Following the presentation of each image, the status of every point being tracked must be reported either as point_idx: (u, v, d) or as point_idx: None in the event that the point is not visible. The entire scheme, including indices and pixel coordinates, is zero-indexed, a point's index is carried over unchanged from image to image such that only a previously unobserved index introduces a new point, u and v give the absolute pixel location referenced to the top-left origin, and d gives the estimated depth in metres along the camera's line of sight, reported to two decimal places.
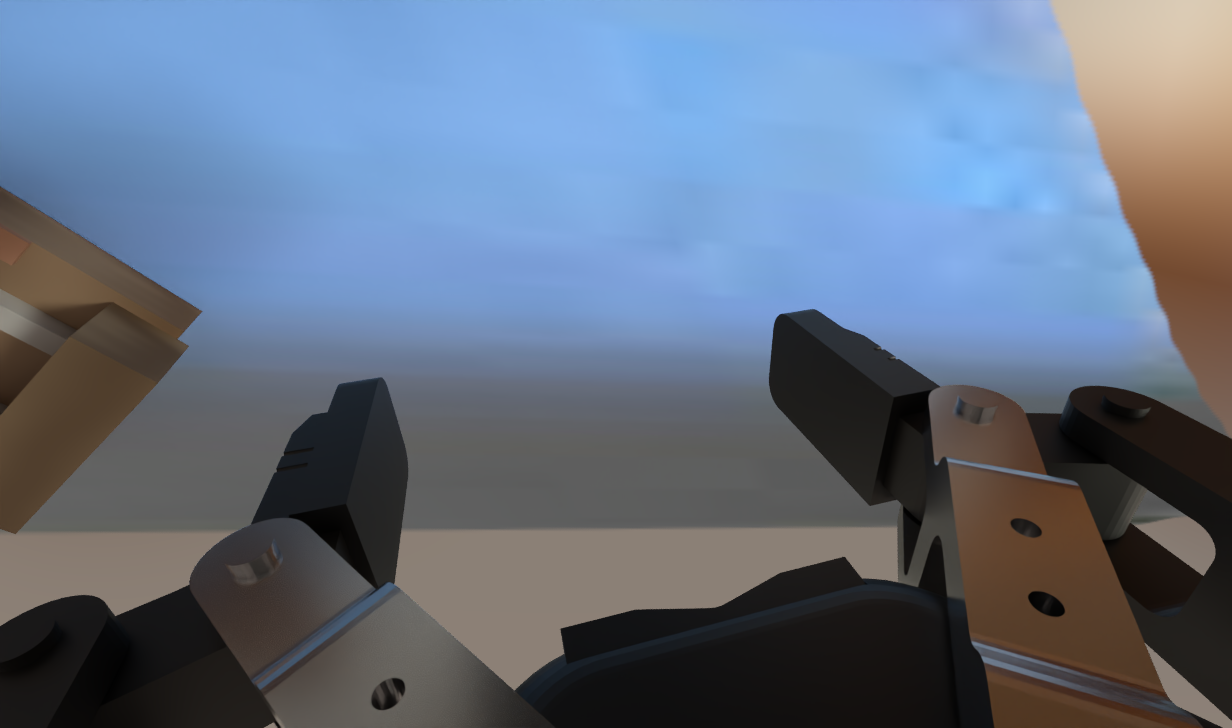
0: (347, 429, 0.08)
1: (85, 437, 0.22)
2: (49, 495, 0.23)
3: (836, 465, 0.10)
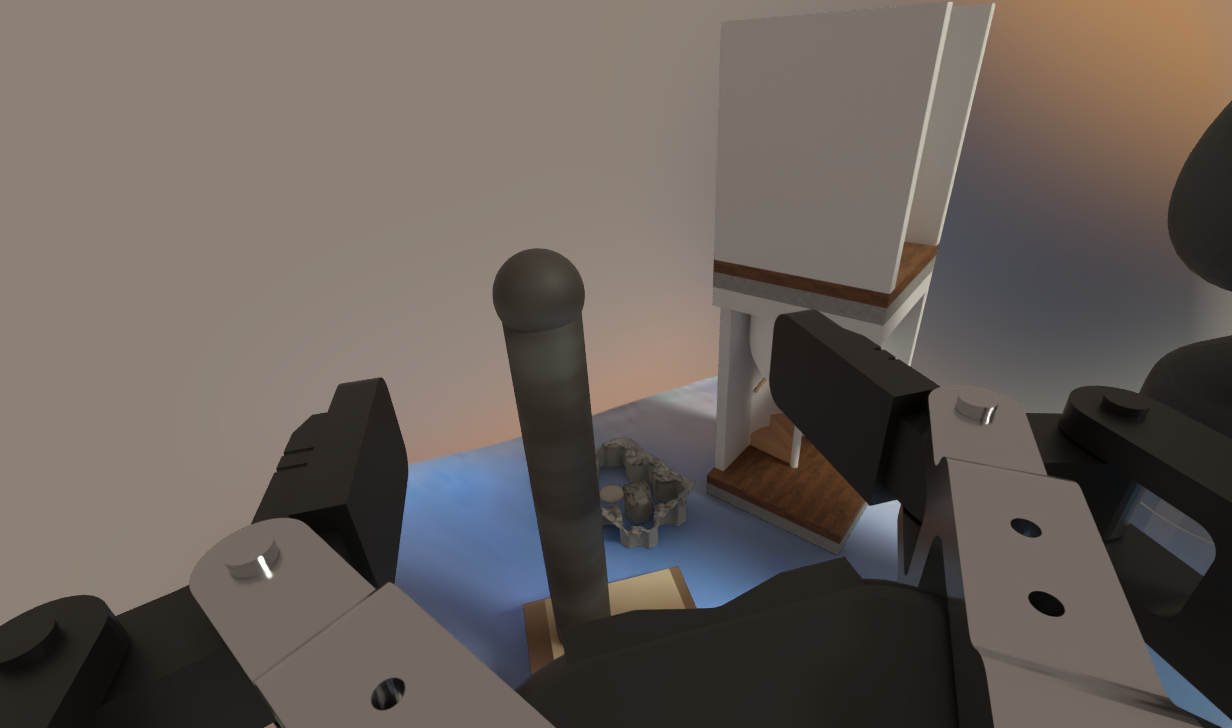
0: (347, 429, 0.09)
1: None
2: None
3: (836, 464, 0.10)
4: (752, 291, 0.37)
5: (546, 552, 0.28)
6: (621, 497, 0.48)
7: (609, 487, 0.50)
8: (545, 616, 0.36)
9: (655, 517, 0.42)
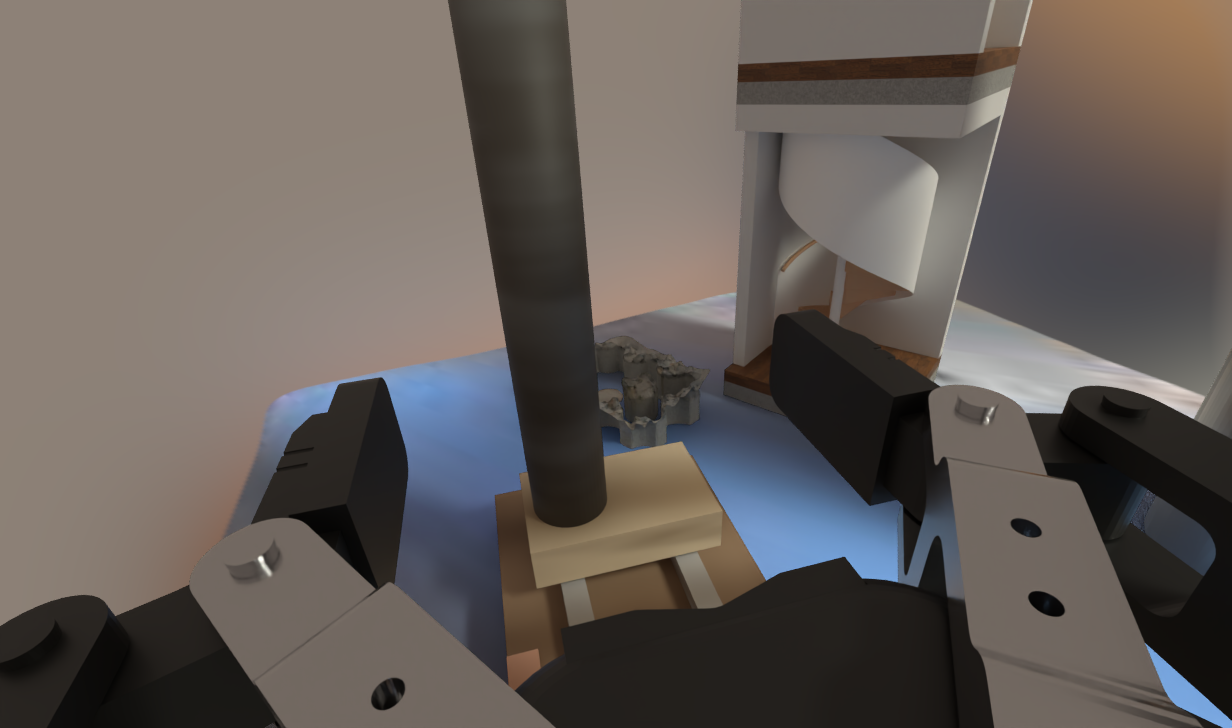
0: (347, 429, 0.09)
1: None
2: None
3: (836, 465, 0.10)
4: (787, 98, 0.29)
5: (514, 364, 0.20)
6: (619, 400, 0.40)
7: (604, 391, 0.41)
8: (522, 507, 0.28)
9: (663, 405, 0.34)
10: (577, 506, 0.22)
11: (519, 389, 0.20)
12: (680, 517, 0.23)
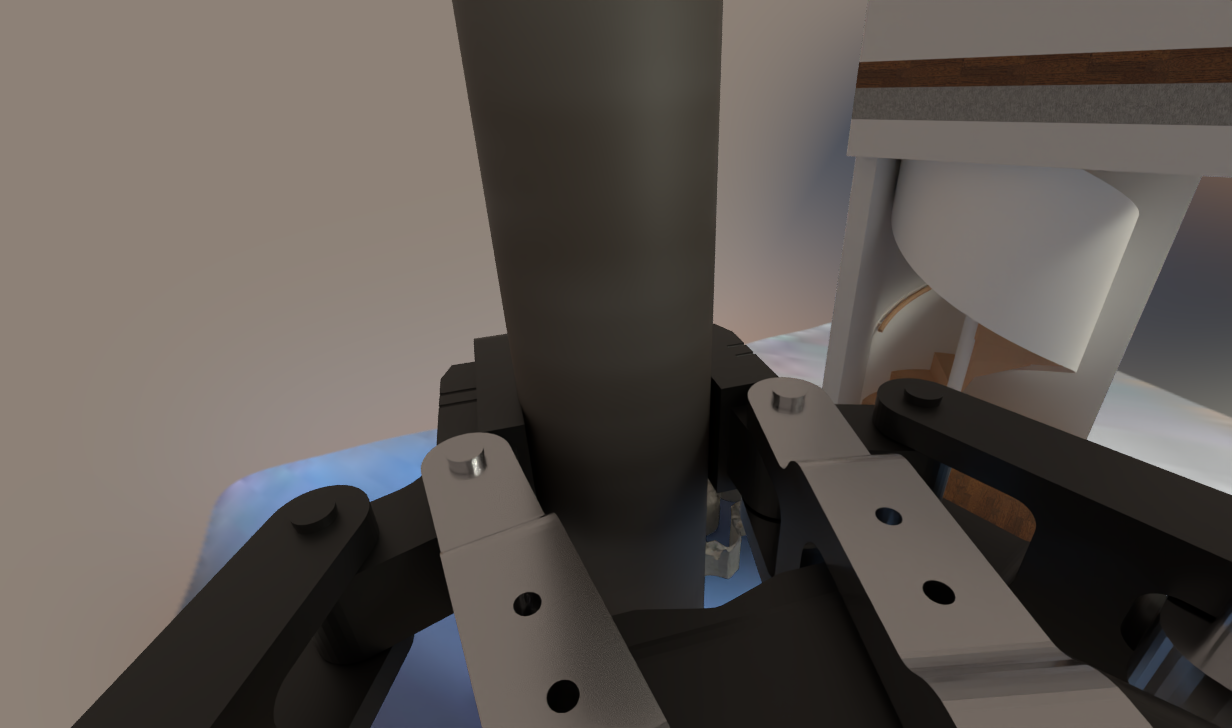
0: (499, 372, 0.10)
1: None
2: None
3: None
4: (936, 111, 0.20)
5: None
6: None
7: None
8: None
9: (739, 525, 0.25)
10: None
11: None
12: None
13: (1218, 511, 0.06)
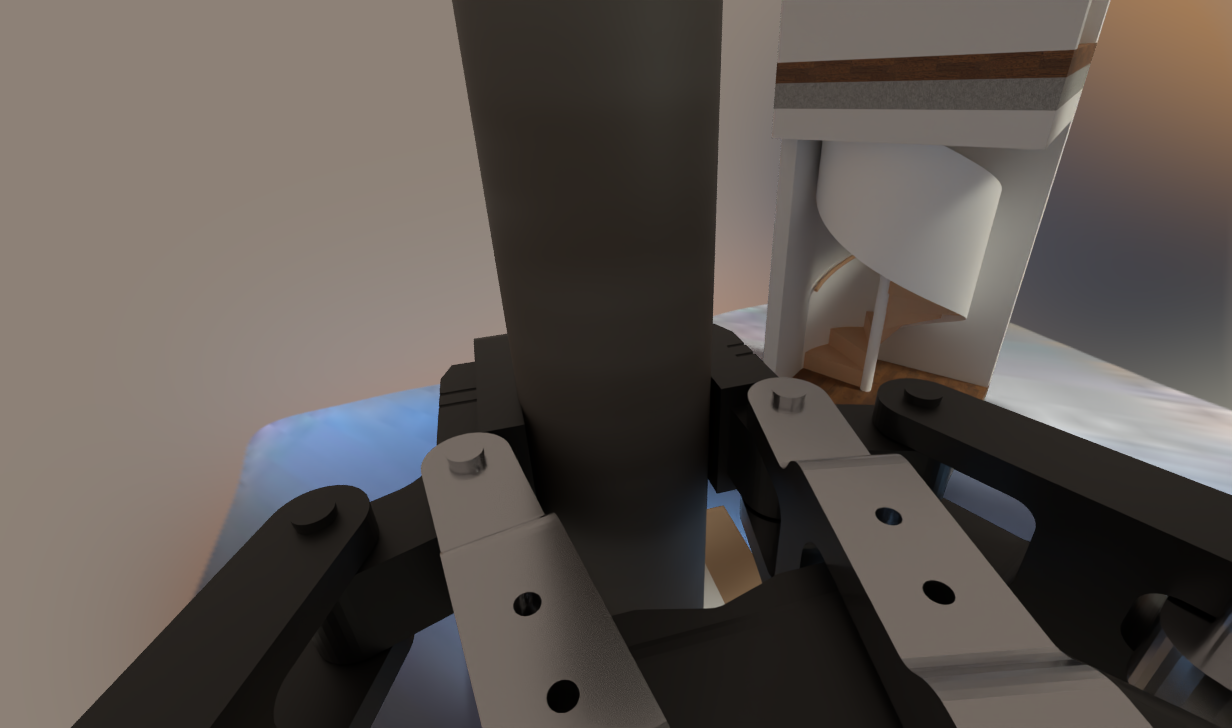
0: (498, 372, 0.10)
1: None
2: None
3: None
4: (835, 101, 0.26)
5: None
6: None
7: None
8: None
9: None
10: None
11: None
12: None
13: (1218, 510, 0.06)
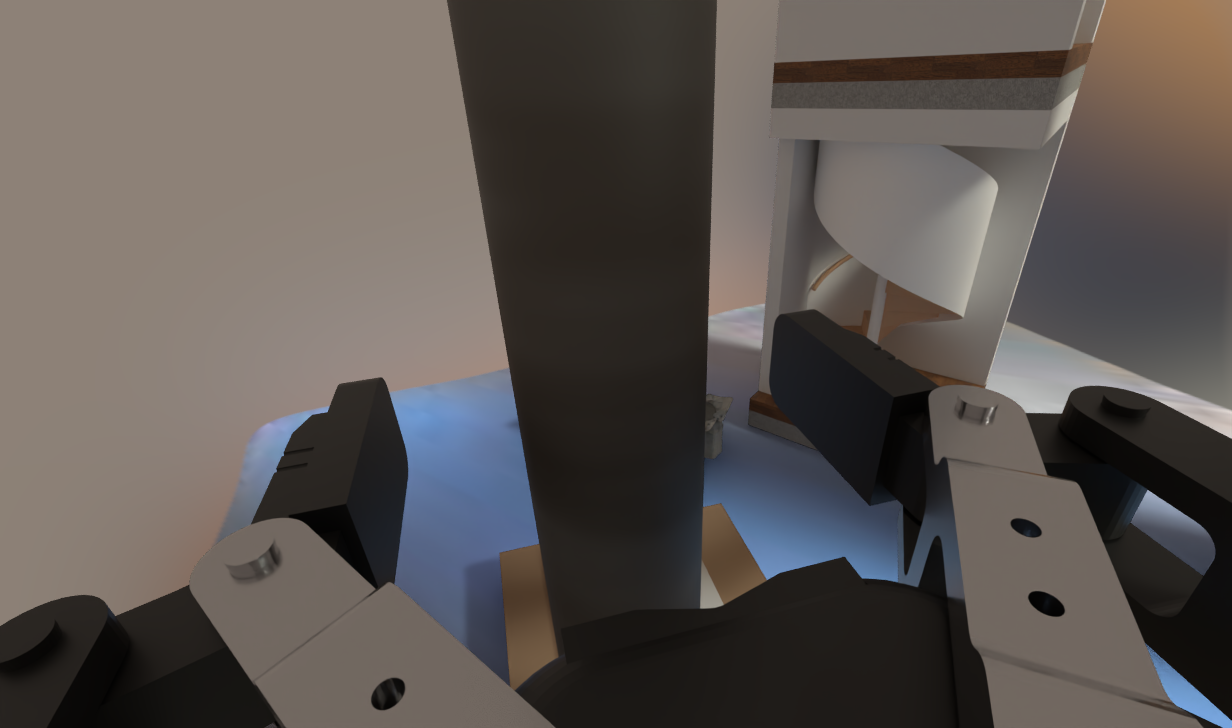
0: (347, 429, 0.09)
1: None
2: None
3: (836, 465, 0.10)
4: (832, 101, 0.26)
5: (561, 616, 0.11)
6: None
7: None
8: (531, 568, 0.25)
9: None
10: None
11: None
12: None
13: None
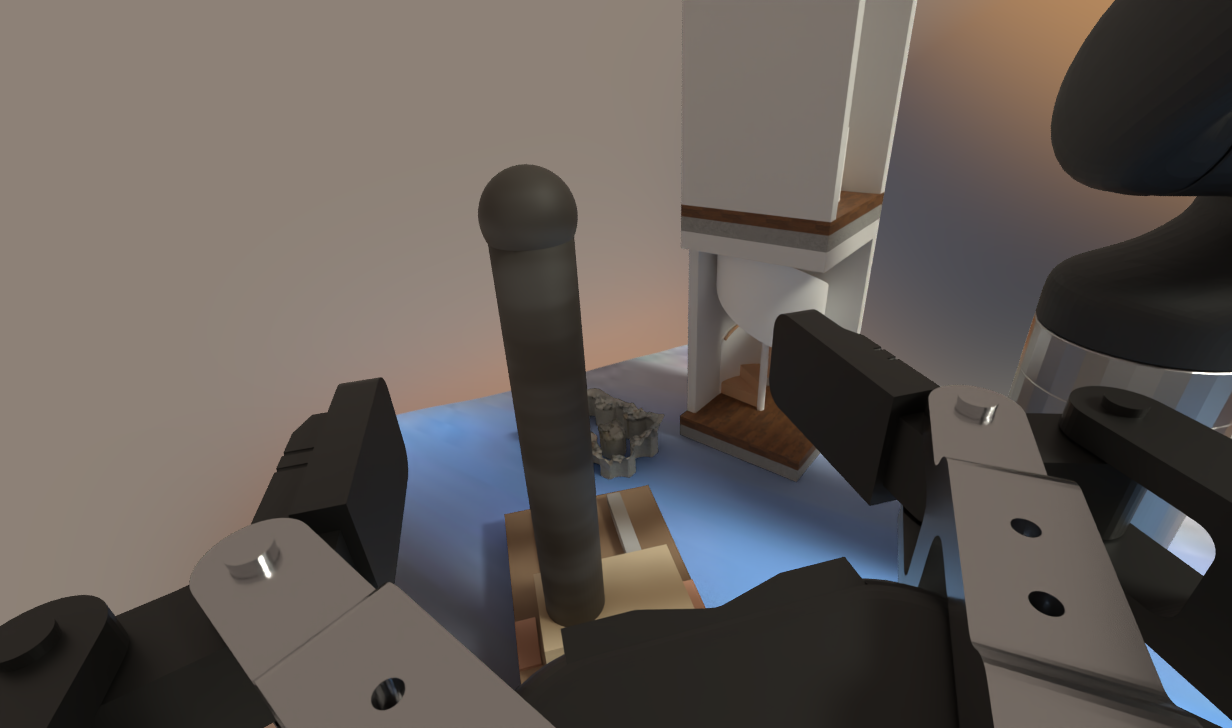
0: (347, 429, 0.08)
1: None
2: None
3: (836, 464, 0.10)
4: (715, 231, 0.41)
5: (534, 512, 0.26)
6: (595, 440, 0.52)
7: None
8: (524, 523, 0.40)
9: (633, 445, 0.46)
10: (581, 612, 0.28)
11: (537, 529, 0.26)
12: None
13: None
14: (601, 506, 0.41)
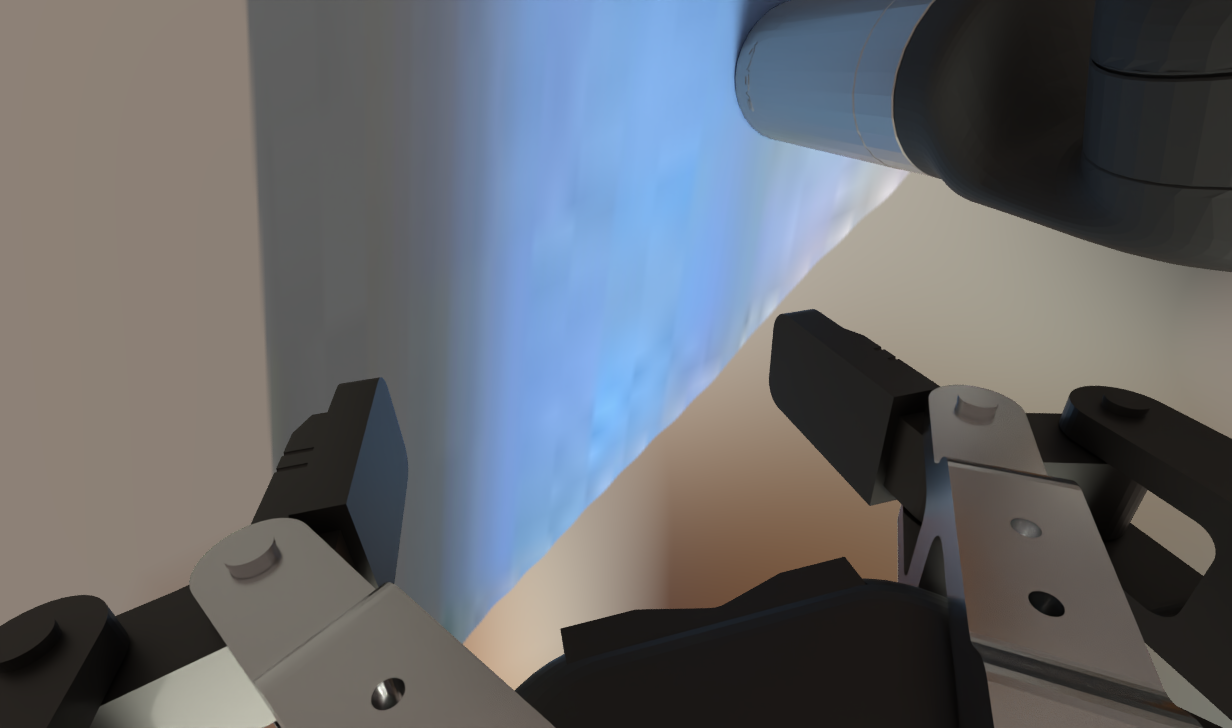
0: (347, 429, 0.09)
1: None
2: None
3: (836, 465, 0.10)
4: None
5: None
6: None
7: None
8: None
9: None
10: None
11: None
12: None
13: None
14: None
